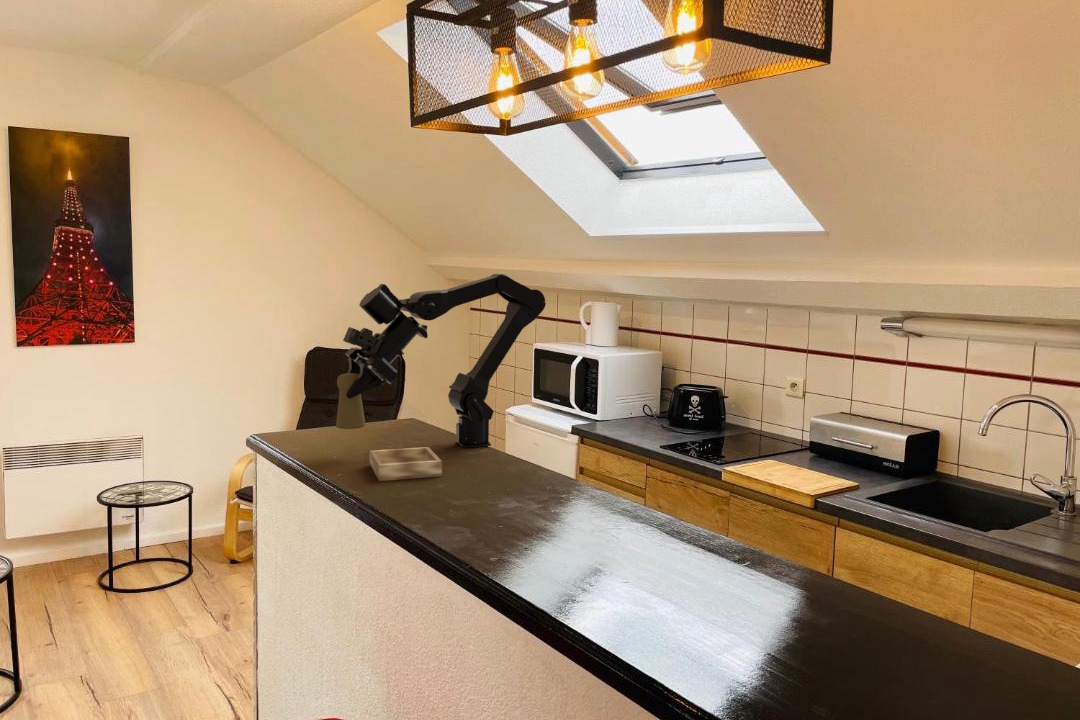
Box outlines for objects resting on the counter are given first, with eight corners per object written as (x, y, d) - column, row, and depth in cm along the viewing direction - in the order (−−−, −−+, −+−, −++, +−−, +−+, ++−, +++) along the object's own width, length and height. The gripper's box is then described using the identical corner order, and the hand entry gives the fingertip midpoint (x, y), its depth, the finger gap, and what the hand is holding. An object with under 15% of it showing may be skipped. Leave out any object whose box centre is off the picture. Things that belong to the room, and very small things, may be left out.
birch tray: (428, 461, 173) (428, 446, 173) (441, 476, 162) (441, 461, 162) (369, 465, 169) (369, 450, 169) (379, 481, 158) (379, 465, 158)
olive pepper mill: (333, 424, 176) (331, 372, 174) (361, 421, 179) (360, 370, 177) (339, 430, 171) (338, 376, 169) (368, 427, 173) (367, 374, 172)
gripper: (354, 310, 181) (303, 363, 178) (381, 317, 165) (327, 376, 161) (389, 344, 186) (341, 397, 182) (419, 354, 170) (367, 412, 166)
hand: (343, 395), depth 173 cm, fingers closed on olive pepper mill, 5 cm apart
